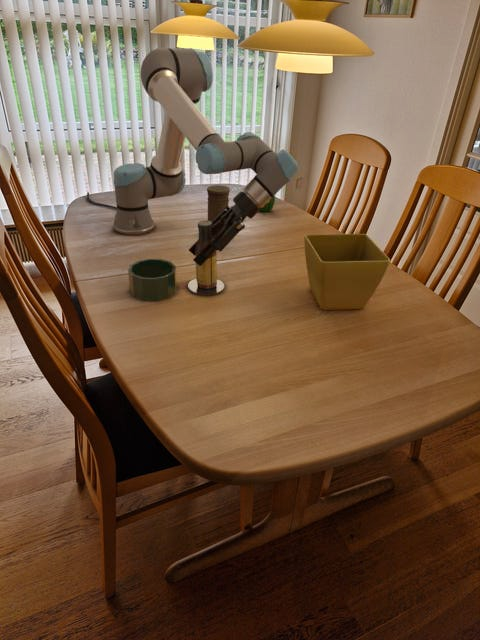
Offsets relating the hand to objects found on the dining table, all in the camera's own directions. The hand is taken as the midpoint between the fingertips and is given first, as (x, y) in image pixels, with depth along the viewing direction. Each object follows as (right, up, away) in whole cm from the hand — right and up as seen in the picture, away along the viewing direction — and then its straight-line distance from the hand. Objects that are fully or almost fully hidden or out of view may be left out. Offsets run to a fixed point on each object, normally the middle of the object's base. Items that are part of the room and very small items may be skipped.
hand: (194, 257), depth 127 cm
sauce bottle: (+3, -8, +6) cm, 10 cm away
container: (+5, +15, +42) cm, 45 cm away
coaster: (+3, -8, +6) cm, 11 cm away
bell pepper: (+24, +31, +69) cm, 80 cm away
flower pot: (+42, -12, +4) cm, 43 cm away
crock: (-12, -9, +3) cm, 16 cm away
